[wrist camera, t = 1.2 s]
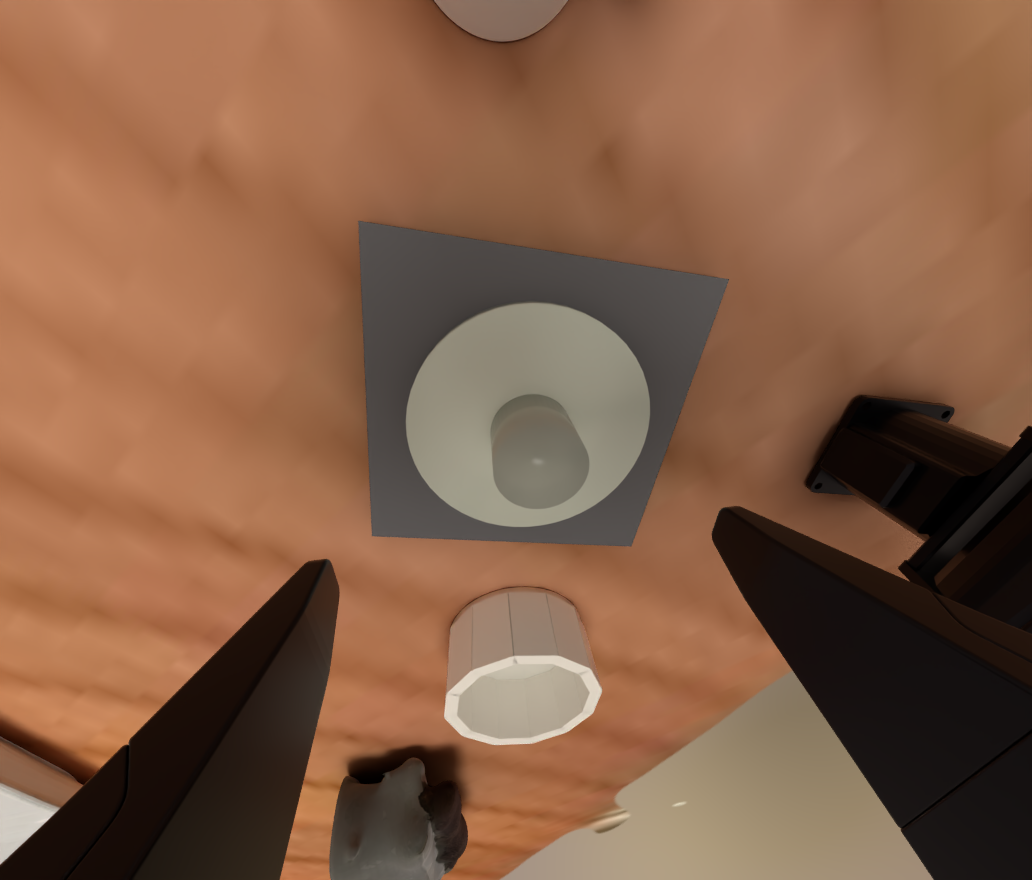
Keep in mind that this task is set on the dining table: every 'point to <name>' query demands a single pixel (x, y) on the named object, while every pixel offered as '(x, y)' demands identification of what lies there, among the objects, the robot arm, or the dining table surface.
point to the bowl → (519, 668)
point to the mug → (501, 16)
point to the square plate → (28, 794)
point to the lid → (527, 414)
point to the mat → (497, 281)
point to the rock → (397, 827)
